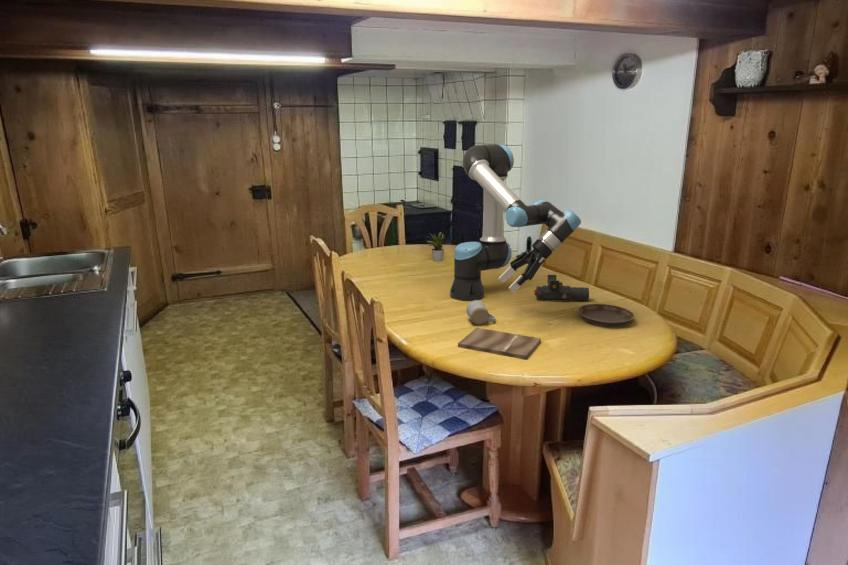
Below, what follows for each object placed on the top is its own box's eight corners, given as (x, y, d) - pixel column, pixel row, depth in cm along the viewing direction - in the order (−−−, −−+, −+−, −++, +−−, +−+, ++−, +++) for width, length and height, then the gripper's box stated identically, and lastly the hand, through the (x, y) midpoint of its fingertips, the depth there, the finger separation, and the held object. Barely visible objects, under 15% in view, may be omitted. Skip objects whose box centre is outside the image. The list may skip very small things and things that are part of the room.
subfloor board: (457, 346, 188) (457, 342, 187) (476, 330, 202) (476, 327, 202) (526, 359, 177) (526, 355, 177) (540, 341, 192) (540, 337, 191)
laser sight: (589, 304, 232) (591, 281, 230) (535, 303, 234) (536, 280, 232) (585, 297, 242) (586, 275, 239) (533, 296, 244) (534, 274, 241)
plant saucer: (645, 326, 207) (646, 317, 206) (597, 332, 201) (597, 323, 200) (612, 309, 226) (612, 301, 225) (567, 314, 220) (568, 306, 219)
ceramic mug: (470, 326, 207) (471, 306, 205) (465, 319, 215) (466, 300, 213) (498, 325, 209) (499, 305, 206) (492, 318, 216) (493, 299, 214)
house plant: (426, 256, 318) (426, 228, 314) (450, 257, 316) (450, 229, 312) (423, 262, 305) (423, 233, 300) (448, 263, 303) (448, 233, 298)
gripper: (565, 259, 196) (522, 301, 198) (541, 245, 220) (503, 282, 222) (551, 245, 194) (508, 288, 196) (528, 232, 218) (490, 270, 220)
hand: (505, 285), depth 209 cm, fingers open, 13 cm apart
